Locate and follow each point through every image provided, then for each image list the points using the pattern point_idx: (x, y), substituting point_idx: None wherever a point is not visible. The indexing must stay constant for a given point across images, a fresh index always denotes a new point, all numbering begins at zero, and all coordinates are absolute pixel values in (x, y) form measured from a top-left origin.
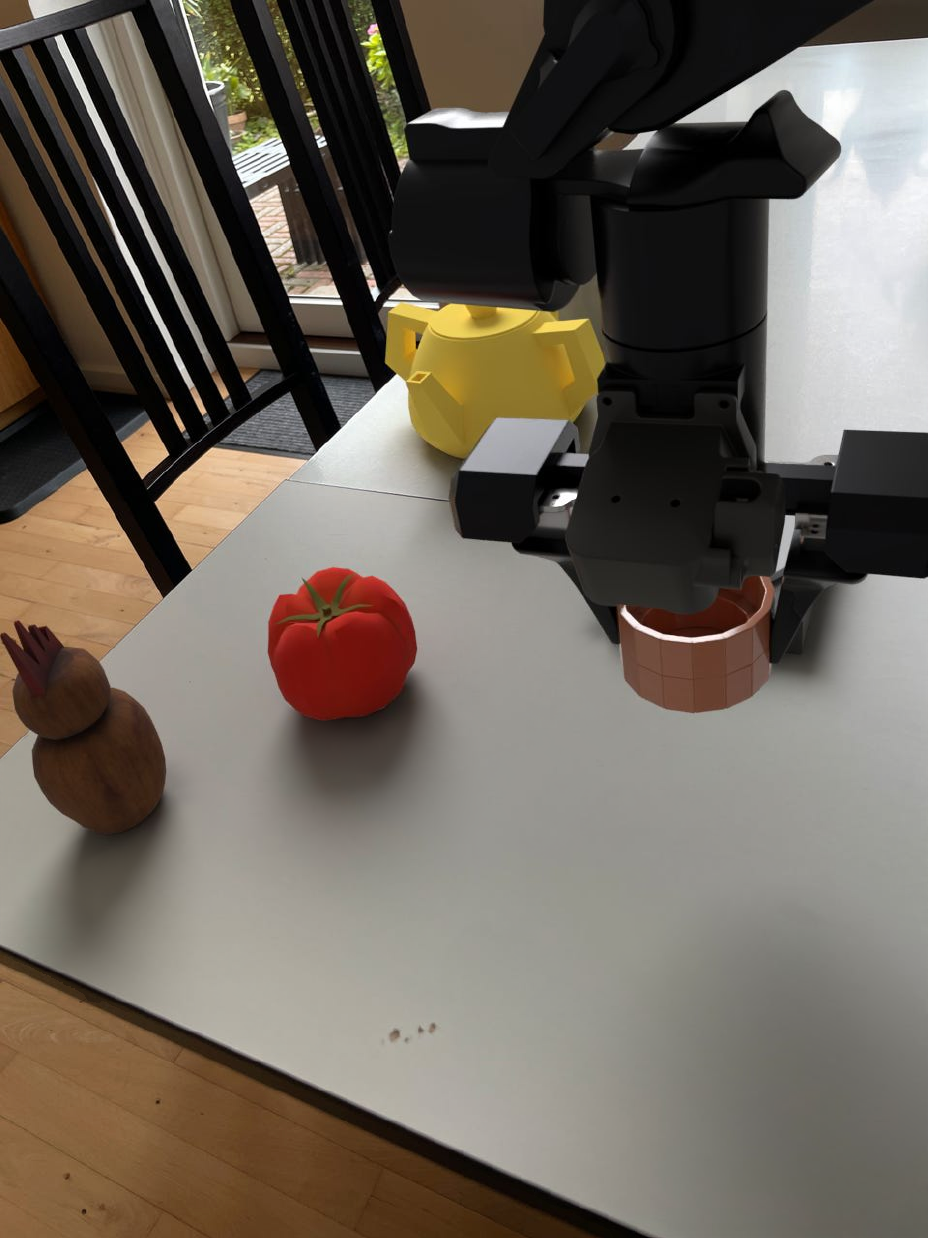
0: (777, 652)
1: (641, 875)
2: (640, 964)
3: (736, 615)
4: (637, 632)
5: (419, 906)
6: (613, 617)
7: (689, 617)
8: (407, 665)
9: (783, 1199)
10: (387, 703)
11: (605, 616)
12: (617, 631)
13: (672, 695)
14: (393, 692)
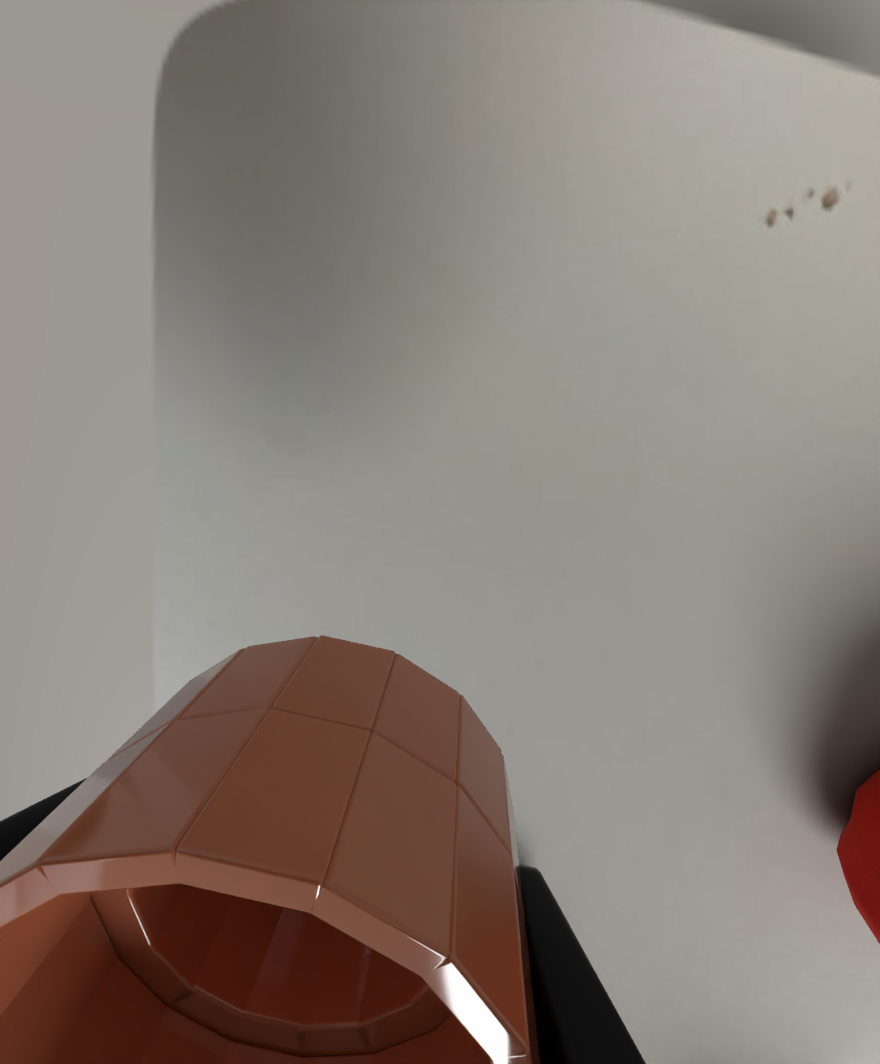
0: (59, 802)
1: (480, 487)
2: (479, 348)
3: (200, 936)
4: (437, 931)
5: (798, 422)
6: (542, 986)
7: (340, 934)
8: (864, 845)
9: (300, 23)
10: (877, 776)
11: (572, 994)
12: (525, 915)
13: (361, 675)
14: (878, 794)
